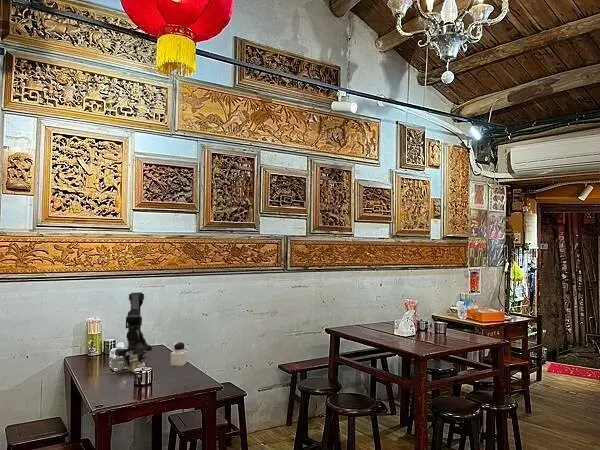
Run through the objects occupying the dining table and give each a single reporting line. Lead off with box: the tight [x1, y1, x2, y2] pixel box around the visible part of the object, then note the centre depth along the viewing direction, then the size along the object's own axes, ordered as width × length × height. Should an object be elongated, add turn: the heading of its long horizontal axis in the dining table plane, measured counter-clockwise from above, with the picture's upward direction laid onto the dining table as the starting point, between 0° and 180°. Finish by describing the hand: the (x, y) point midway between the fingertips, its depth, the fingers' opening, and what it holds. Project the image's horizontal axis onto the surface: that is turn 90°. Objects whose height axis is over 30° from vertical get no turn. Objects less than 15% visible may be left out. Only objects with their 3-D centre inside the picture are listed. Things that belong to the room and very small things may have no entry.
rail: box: [124, 358, 146, 373], centre depth 261 cm, size 18×4×5 cm, turn 43°
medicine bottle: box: [170, 342, 188, 367], centre depth 274 cm, size 7×7×12 cm
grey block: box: [110, 354, 138, 371], centre depth 268 cm, size 6×16×6 cm, turn 133°
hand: (133, 366), depth 262 cm, fingers open, 5 cm apart
